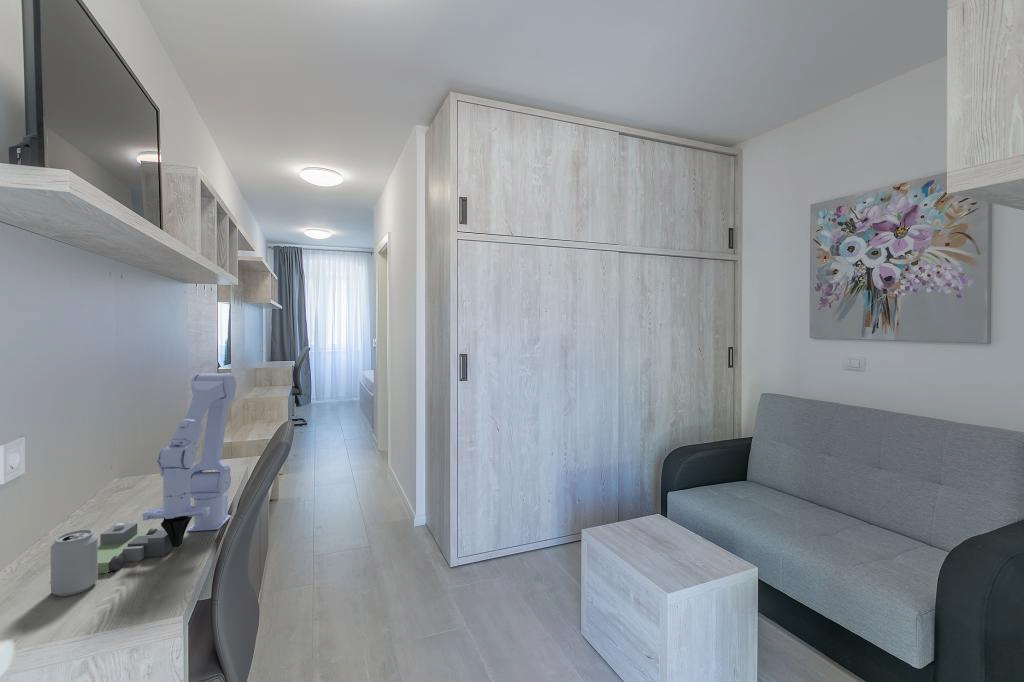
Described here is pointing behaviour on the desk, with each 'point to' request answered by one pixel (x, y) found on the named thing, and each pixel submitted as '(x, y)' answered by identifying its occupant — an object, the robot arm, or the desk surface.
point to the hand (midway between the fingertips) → (177, 545)
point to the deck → (120, 546)
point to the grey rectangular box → (153, 544)
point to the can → (74, 562)
